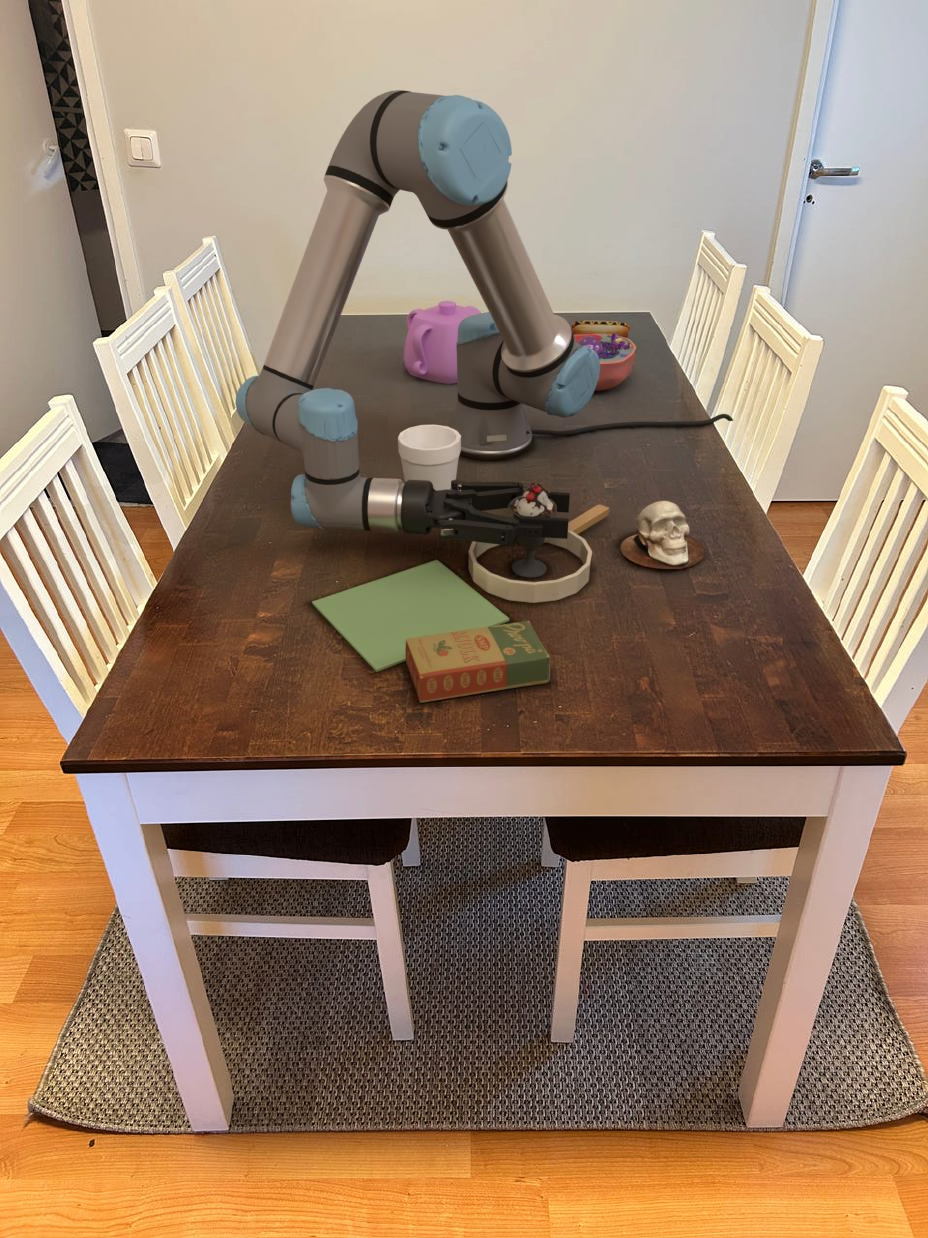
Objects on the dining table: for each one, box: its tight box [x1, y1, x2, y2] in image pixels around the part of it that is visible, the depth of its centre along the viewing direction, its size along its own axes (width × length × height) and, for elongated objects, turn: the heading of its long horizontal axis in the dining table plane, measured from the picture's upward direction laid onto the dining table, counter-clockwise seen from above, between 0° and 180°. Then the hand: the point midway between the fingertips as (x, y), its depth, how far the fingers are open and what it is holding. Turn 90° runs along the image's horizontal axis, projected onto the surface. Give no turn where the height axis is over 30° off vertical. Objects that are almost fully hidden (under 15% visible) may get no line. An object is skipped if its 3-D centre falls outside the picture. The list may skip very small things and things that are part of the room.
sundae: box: [507, 479, 558, 579], centre depth 129 cm, size 7×7×15 cm
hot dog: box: [571, 319, 631, 338], centre depth 214 cm, size 5×13×5 cm, turn 84°
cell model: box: [574, 334, 637, 392], centre depth 189 cm, size 17×20×11 cm
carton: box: [405, 620, 551, 704], centre depth 112 cm, size 8×16×4 cm, turn 105°
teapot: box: [403, 300, 482, 385], centre depth 197 cm, size 19×21×14 cm
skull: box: [619, 500, 705, 570], centre depth 136 cm, size 12×10×10 cm
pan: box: [468, 503, 610, 604], centre depth 134 cm, size 26×17×3 cm, turn 123°
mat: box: [311, 559, 510, 673], centre depth 124 cm, size 20×18×1 cm
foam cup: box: [397, 424, 461, 491], centre depth 143 cm, size 10×9×13 cm
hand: (568, 515), depth 128 cm, fingers closed on sundae, 7 cm apart
